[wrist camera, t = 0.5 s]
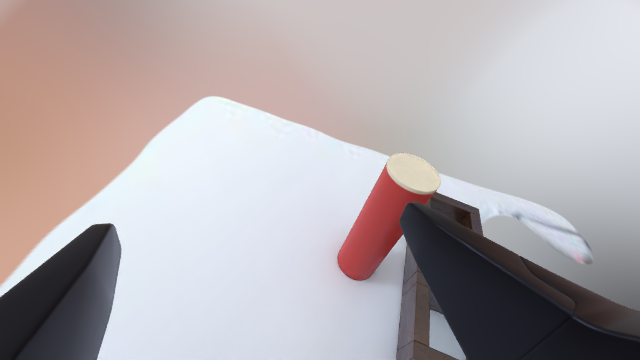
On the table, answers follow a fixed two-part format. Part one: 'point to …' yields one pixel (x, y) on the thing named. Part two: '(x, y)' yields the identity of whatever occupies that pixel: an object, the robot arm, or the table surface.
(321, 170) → the table surface
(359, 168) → the table surface
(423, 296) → the brown wooden rack
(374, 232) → the red cylinder
